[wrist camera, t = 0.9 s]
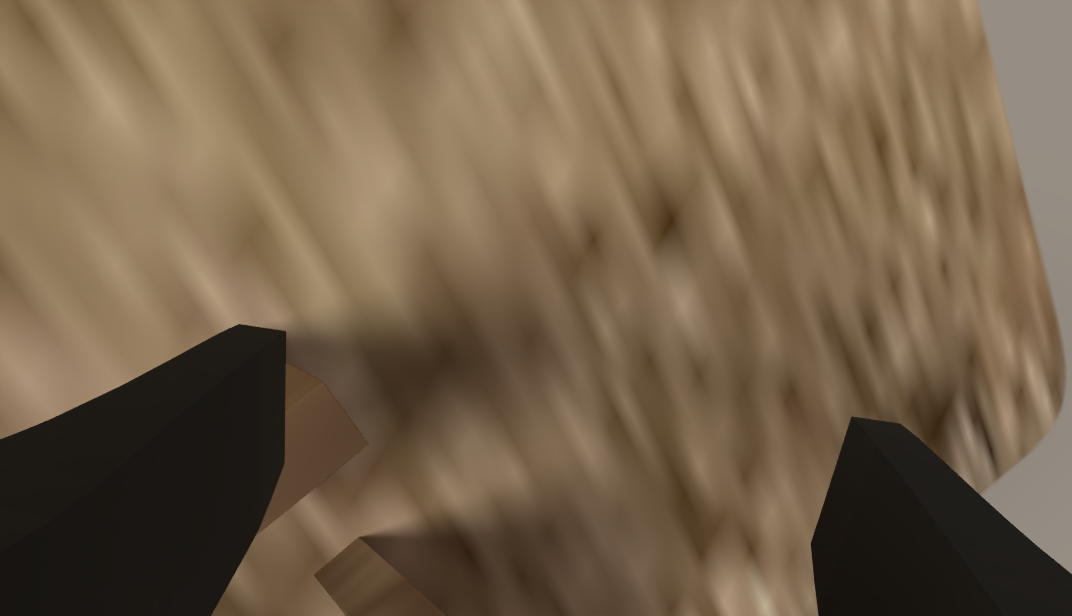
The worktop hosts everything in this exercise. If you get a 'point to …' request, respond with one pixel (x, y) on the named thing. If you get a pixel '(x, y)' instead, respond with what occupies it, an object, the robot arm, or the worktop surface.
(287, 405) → the domino
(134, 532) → the robot arm
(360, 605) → the domino
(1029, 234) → the worktop surface
